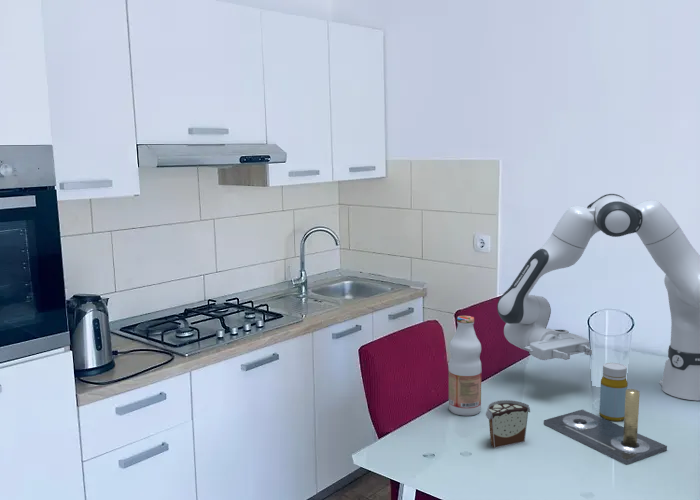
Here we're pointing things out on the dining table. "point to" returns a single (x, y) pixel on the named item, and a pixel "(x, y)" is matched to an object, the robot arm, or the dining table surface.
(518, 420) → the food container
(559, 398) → the dining table surface
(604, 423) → the gauge plate
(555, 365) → the dining table surface
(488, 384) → the dining table surface
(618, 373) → the bottle
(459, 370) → the fruit juice
